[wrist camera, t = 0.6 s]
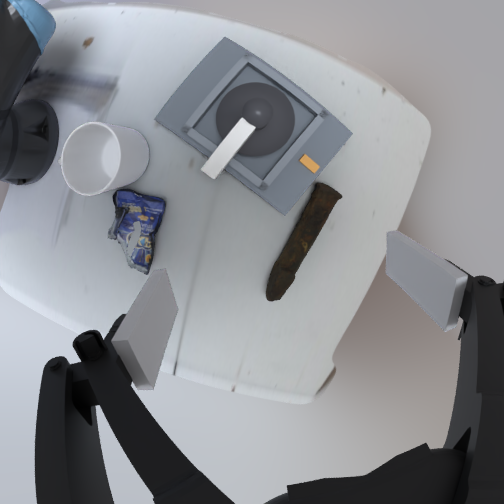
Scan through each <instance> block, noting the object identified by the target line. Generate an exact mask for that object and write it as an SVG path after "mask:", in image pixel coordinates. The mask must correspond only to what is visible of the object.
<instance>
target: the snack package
mask: <svg viewBox="0 0 504 504" xmlns="http://www.w3.org/2000/svg"><path fill="white" fill-rule="evenodd" d="M133 191H134V190H130V189H120V190H117V191H116V192H115V193H114V194H113V202H114V205H115V209H116V211H115V213H116V216H115V220H114V222H113V225H112V227H111V228H110V229H109V231H108V238H110V239H114V240H116V239H117V240H118V242H119V243H120V244H121V245H122V247H123V251H124V253H125V255H126V258H127V262H128V265H129V266H130V267H131V268H134V269H137V270H138V271H140V272H144V274H146V275H148V273H149V270H150V267H151V264H152V261H153V256H154V245H155V241H154V240H155V234H156V233H157V232H158V229H159V227H160V224H161V221H162V216H163V213H164V210H165V201H164V200H163V199H161V198H158V197H153V196H147V195H144V194H140V193H138V192H136V191H134V192H133ZM134 193H136V194H137V195H139V196H137V195H135V194H134ZM140 196H142V197H140ZM136 221H140V224H141V228H142V229H141V235H140V239H139V241H138V243H137V246H136V247H135V248H134V251H133V253H132V256H131V257H130V256H129V255H128V253H127V247H128V243H129V240H130V237H131V235H132V233H133V232H134V226H133V223H134V222H136ZM131 260H133V262H134V263H135V264H133V263H132V262H131Z"/></svg>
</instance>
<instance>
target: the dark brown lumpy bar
mask: <svg viewBox="0 0 504 504" xmlns="http://www.w3.org/2000/svg"><path fill="white" fill-rule="evenodd" d="M341 198H342V195H341V194H340V193H338V192H337V191H336V190H335V189H333V188H331V187H330V186H328V185H326V184H324V183H316V190H315V191H314V192H313V193H312V198H311V200H310V201H309V203H308V205H307V206H306V208H305V210H304V212H303V214H302V217H301V219H300V221H299V222H298V224H297V225H296V228H295V230H294V232H293V234H292V236H291V237H290V239H289V241H288V243H287V245H286V247H285V249H284V251H283V252H282V254H281V256H280V258H279V259H278V261H276V262H275V264H274V267H273V269H272V272H271V274H270V278H269V282H268V285H267V290H266V298H267V300H268V301H275V300H280V299H281V297H282V296H283V295H284V293H285V292H286V290H287V289H288V288H289V287H290V285H291V284H292V283H293V281H294V279H295V273H296V272H297V270H298V269H299V267H300V265H301V263H302V261H303V259H304V258H305V256H306V255H307V253H308V251H309V250H310V248H311V246H312V245H313V243H314V241H315V240H316V238H317V236H318V235H319V233H320V231H321V229H322V227H323V226H324V224H325V222H326V220H327V218H328V216H329V214H330V213H331V211H332V209H333V207H334V205H335V204H336V202H337V201H338V200H339V199H341Z"/></svg>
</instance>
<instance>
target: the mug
mask: <svg viewBox="0 0 504 504" xmlns="http://www.w3.org/2000/svg"><path fill="white" fill-rule="evenodd" d="M148 161H149V147H148V144H147V141H146V140H145V138H144V137H143V136H142V135H141V134H140V133H139V132H138V131H136V130H134V129H132V128H128V127H123V126H118V125H113V124H107V123H102V122H87V123H84V124H82V125H80V126H79V127H77V128H76V129H75V130H74V131H73V132H72V133H71V134H70V135H69V137H68V138H67V140H66V142H65V144H64V146H63V150H62V154H61V157H60V158H59V159H58V163H59V164H61V170H62V174H63V177H64V179H65V181H66V183H67V185H68V186H69V187H70V188H71V189H72V190H73V191H75V192H76V193H78V194H80V195H84V196H93V195H97V194H100V193H103V192H106V191H109V190H112V189H116V188H119V187H122V186H125V185H128V184H131V183H133V182H134V181H136V180H137V179H138V178H139V177H140V176H141V175H142V174H143V173H144V171H145V169H146V168H147V165H148Z"/></svg>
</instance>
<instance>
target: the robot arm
mask: <svg viewBox="0 0 504 504" xmlns="http://www.w3.org/2000/svg"><path fill="white" fill-rule="evenodd" d="M55 28H56V23H55V20H54V18H53V16H52V15H51V14H50V13H49V12H48V11H47V10H46V9H45V8H44V7H43V6H41V5H40V4H39V3H38V2H36V1H35V0H0V181H4V182H7V183H11V184H15V185H26V184H30V183H33V182H36V181H37V180H39V179H40V178H41V177H42V176H43V175H44V174H45V173H46V172H47V170H48V169H49V167H50V165H51V163H52V161H53V159H54V156H55V153H56V149H57V144H58V133H59V131H58V121H57V117H56V114H55V112H54V110H53V108H52V107H51V106H50V105H49V104H48V103H46V102H44V101H41V100H34V99H31V100H26V101H23V102H20V103H17V104H14V102H15V100H16V98H17V96H18V94H19V92H20V90H21V88H22V86H23V84H24V82H25V80H26V78H27V76H28V75H29V73H30V71H31V69H32V68H33V66H34V64H35V63H36V61H37V59H38V58H39V56H41V55H42V53H43V51H44V48H45V46H46V44H47V43H48V41H49V39H50V38H51V36H52V35H53V33H54V31H55ZM13 104H14V105H13ZM386 274H387V275H388V276H389V277H390V278H391V279H392V280H393V281H394V282H395V283H396V284H398V285H399V286H400V287H401V288H402V289H403V290H404V291H405V292H406V293H407V294H408V295H409V296H410V297H411V298H412V299H413V300H414V301H415V302H416V303H417V304H418V305H419V306H420V307H421V308H422V309H423V310H424V311H425V312H426V313H427V314H428V315H429V316H430V317H431V318H432V319H433V320H434V321H435V322H436V323H437V324H438V325H439V326H440V327H441V328H442V329H443V330H444V331H445V332H446V331H448V330H451V329H453V328H455V327H456V326H457V322H458V318H459V316H460V317H461V318H462V319H463V324H462V328H461V331H460V334H459V338H458V340H460V338H461V351H460V363H459V374H458V381H457V389H456V396H455V402H454V408H453V412H452V417H451V422H450V427H449V431H448V435H447V439H446V442H445V444H444V447H443V448H438V449H429V447H428V445H427V443H424V444H422V445H420V446H418V447H416V448H413V449H411V450H409V451H407V452H404V453H402V454H399V455H397V456H395V457H394V458H392V459H391V460H389V461H388V462H386V463H385V464H383V465H382V466H380V467H379V468H377V469H375V470H374V471H372V472H370V473H368V474H367V475H364V476H356V477H343V478H323V479H319V480H314V481H309V482H304V483H299V484H293V485H287V490H288V493H285V494H282V495H280V496H278V497H275V498H273V499H271V500H270V501H268V502H266V503H265V504H504V282H503V283H499V284H496V282H495V281H494V280H493V279H491V278H489V277H486V276H476V277H473V276H471V275H470V274H468V273H467V272H465V271H464V270H462V269H460V268H459V267H458V266H455V264H453V263H452V262H450V261H448V260H446V259H443V258H442V257H440V256H438V255H437V254H435V253H434V252H432V251H431V250H429V249H427V248H426V247H424V246H422V245H421V244H419V243H418V242H416V241H414V240H413V239H411V238H409V237H407V236H406V235H404V234H402V233H400V232H399V231H397V230H396V231H390V232H387V254H386ZM177 312H178V307H177V304H176V301H175V297H174V294H173V291H172V288H171V284H170V281H169V278H168V274H167V271H166V269H160V270H154V271H153V272H152V274H151V276H150V277H149V279H148V280H147V282H146V283H145V285H144V287H143V288H142V290H141V291H140V293H139V295H138V296H137V298H136V299H135V301H134V303H133V304H132V306H131V308H130V309H129V311H128V313H127V314H122V315H121V316H120V317H119V318H118V319H117V320H116V321H115V322H114V324H113V326H112V328H111V329H110V330H109V333H108V334H107V335H106V337H105V339H104V340H103V338H102V336H101V334H100V332H99V331H97V330H89V331H86V332H83V333H82V334H80V335H78V337H76V338H75V340H74V341H73V348H74V349H75V351H76V353H77V355H78V356H79V358H80V360H81V362H78V363H74V364H69V362H68V361H67V359H66V358H65V357H62V356H59V357H55V358H52V359H51V360H49V361H48V362H47V364H46V365H45V367H44V370H43V375H42V381H41V387H40V394H39V402H38V410H37V421H36V436H35V437H36V438H35V484H36V497H37V504H114V501H113V498H112V494H111V490H110V487H109V483H108V478H107V475H106V470H105V465H104V460H103V455H102V450H101V444H100V438H99V431H98V424H97V416H96V407H95V406H96V405H100V407H101V409H102V411H103V413H104V415H105V417H106V419H107V421H108V423H109V425H110V427H111V429H112V431H113V432H114V434H115V436H116V438H117V440H118V441H119V443H120V445H121V447H122V448H123V450H124V452H125V454H126V455H127V457H128V458H129V460H130V462H131V463H132V465H133V467H134V468H135V470H136V471H137V473H138V474H139V475H140V477H141V479H142V480H143V482H144V483H145V485H146V486H147V487H148V489H149V490H150V491H151V493H152V494H153V496H154V498H153V501H154V503H155V504H235V503H234V502H233V501H232V500H230V499H229V498H228V497H227V496H226V495H225V494H224V493H223V492H221V491H220V490H219V489H218V488H217V487H216V486H215V485H214V484H213V483H212V482H211V481H210V480H209V479H208V478H207V477H206V476H205V475H204V474H203V473H202V472H200V471H199V470H198V469H197V468H196V467H195V466H194V465H193V464H192V463H191V462H190V461H189V460H188V459H187V457H186V456H185V455H184V454H183V453H182V452H181V451H180V450H179V448H177V446H176V445H175V444H174V443H173V441H172V440H171V439H170V438H169V437H168V435H167V434H166V433H165V432H164V431H163V429H162V428H161V427H160V426H159V424H158V423H157V422H156V420H155V419H154V418H153V416H152V415H151V414H150V412H149V411H148V410H147V408H146V407H145V405H144V404H143V403H142V401H141V400H140V398H139V397H138V396H137V394H136V393H135V391H134V390H133V388H132V387H131V383H132V381H133V383H134V384H135V386H136V388H137V389H138V390H153V389H154V386H155V383H156V379H157V376H158V372H159V369H160V366H161V362H162V359H163V356H164V353H165V349H166V346H167V343H168V340H169V337H170V334H171V330H172V327H173V324H174V321H175V318H176V315H177Z"/></svg>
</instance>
